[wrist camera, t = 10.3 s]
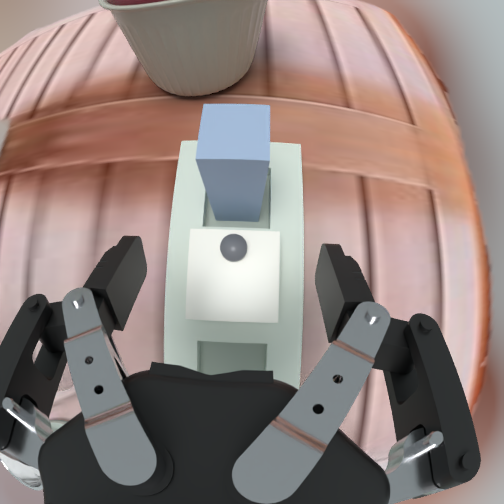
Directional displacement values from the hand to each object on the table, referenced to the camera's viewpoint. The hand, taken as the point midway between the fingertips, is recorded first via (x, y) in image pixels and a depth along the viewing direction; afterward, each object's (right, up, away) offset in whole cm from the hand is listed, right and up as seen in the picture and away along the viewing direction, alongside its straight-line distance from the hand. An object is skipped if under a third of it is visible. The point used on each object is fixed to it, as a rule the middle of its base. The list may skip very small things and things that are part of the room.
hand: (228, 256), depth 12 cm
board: (-1, -3, +14) cm, 14 cm away
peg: (0, +5, +14) cm, 15 cm away
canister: (-6, +25, +19) cm, 32 cm away
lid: (-1, -2, +11) cm, 11 cm away
